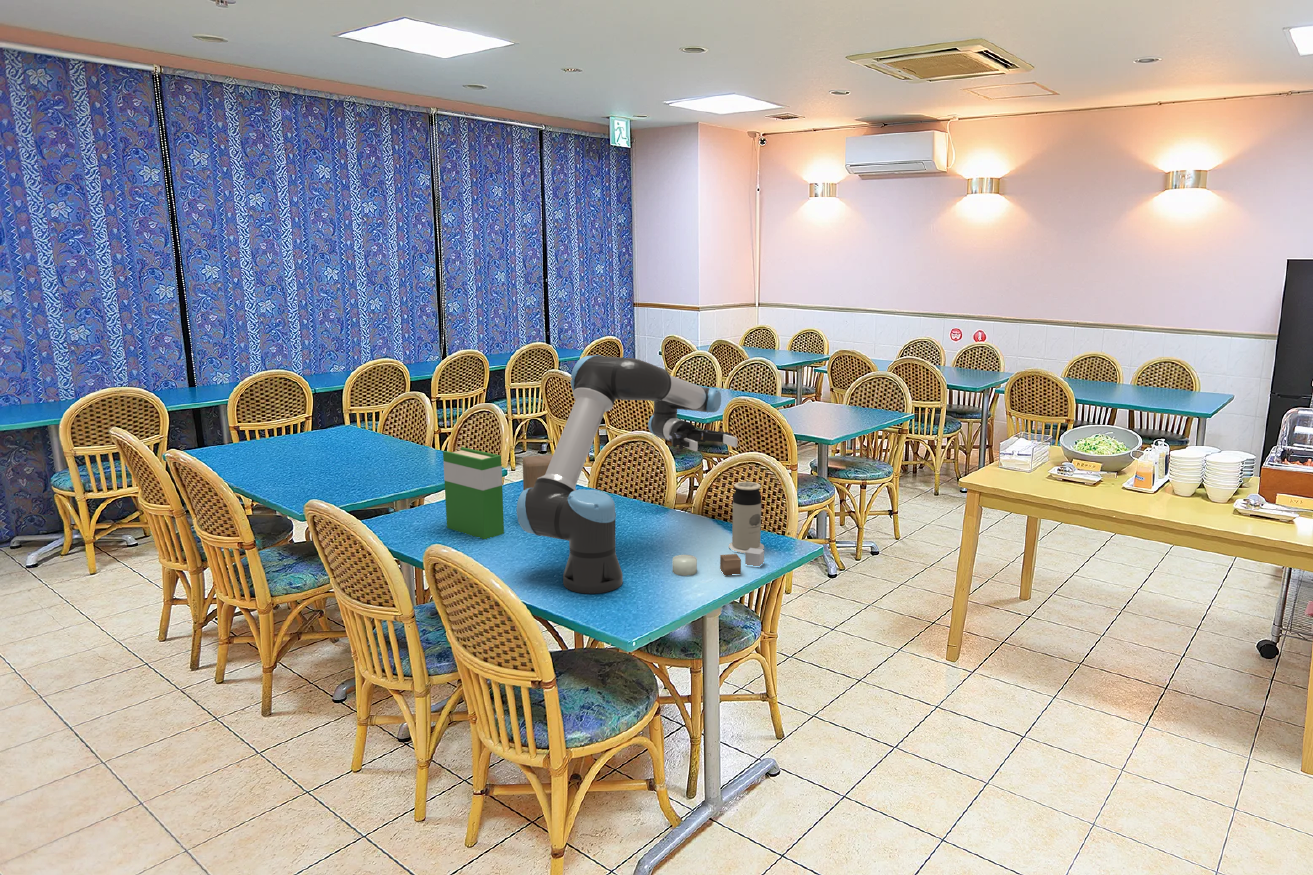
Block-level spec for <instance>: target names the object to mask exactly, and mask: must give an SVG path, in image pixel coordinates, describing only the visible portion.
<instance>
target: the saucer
mask: <svg viewBox="0 0 1313 875" xmlns="http://www.w3.org/2000/svg"><path fill="white" fill-rule="evenodd" d="M729 548H731V549H732V550H734V551H737V552H741V553H745V552H746V551H747V550H742V549H738V548H736V547H734V546H733V545H732V542H730V543H729V544H728V549H729ZM756 549H762V550H763V549H764V550H765V545H764V544H763V543H761V542H760V547H758V548H756ZM741 553H740V554H741Z"/></svg>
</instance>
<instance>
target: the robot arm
mask: <svg viewBox="0 0 1313 875" xmlns="http://www.w3.org/2000/svg"><path fill="white" fill-rule="evenodd" d="M570 378H571V380H570V387H571V389H572V396H573V399H574V400H575V401H574V404H573V405H572V408H571V411H570V413H569V416H568V419H567V420H566V423H565V425H564V428H563V430H562V433H561V435H560V437H559V440H558V442H557V444H556V447H555V449H554V452H553V454H552V456H553V457H552V459H551V461H550V464H549V466H548V469H547V471H546V474H545V475H544V476H542V477H539V478H538V479H537V480H536V482H535V485H534V487H533V488H527V489H525V490H522V491H521V493H520V495H519V496H518V500H517V503H516V517H517V522H518V524H519V526H520V527H521V529H522V530H523V531H524V532H526V533H528V534H533V535H534V536H537V537H547V538H552V539H557V540H558V539H559V540H563V541H568V542H569V556H568V558H567V562H566V565H565V568H564V571H563V574H562V577H563V578H562V579H563V580H562V581H563V582H562V584H563V586H564V587H565V588H566V589H567V590H569V591H571V592H573V593H574V592H575V593H579V594H594V595H595V594H604V593H609V592H612V591H614V590H617V589H618V588H620V587H621V586H622V585H623V579H624V578H623V576H624V575H623V571H622V568H621V565H620V562H619V560H618V557H617V554H616V552H617V551H616V518H617V512H616V506H615V505H616V504H615V501H614V499H613V498H612V496H611V495H609V494H608V493H605V492H603V491H601V490H595V489H585V488H584V489H576V485H577V483H578V481H579V479H580V476H581V473H582V471H583V469H584V466H585V463H586V461H587V459H588V455H589V453H590V450H591V448H592V445H593V443H594V441H595V437H596V435H597V433H598V430H599V427H600V426H601V422H602V419H603V417H604V415H605V413H606V412H610V411H611V410H613V407H614V405H615V402H616V401H617V400H619V401H650V402H653V414H652V415H651V416H650V418H649V420H648V421H647V422H648V423H647V427H648V430H649V432H650V433H651V434H652V435H653V436H655V437H657V438H660V439H663V440H665V441H669V442H671V446H672V448H677V446H678V449H679V450H683V449H684V448H685V449H688V450H691V451H693V452H698V449H699V448H698V444H699V443H705V442H716V443H717V442H718V443H722V444H724V445H727V446H730V447H733V448H738V437H735V436H733V435H732V433H731V432H728V431H719V430H711V429H707V428H706V429H704V430H703V429H698V428H696V427H695V425H694V424H693V423H691V422H690V421H686V420H683V419H679V418H678V410H685V411H692V412H693V411H694V412H701V413H702V412H703V413H717V412H718V411H719V409H720V408H721V404H722V393H721V392H720V390H719V389H718V388H713V387H704V386H700V385H697V384H696V383H693V382H689V381H686V380H684V379H682V378H678V377H676V376H674V375H671V374H670V373H669V372H668V371H667V370H666V369H664V368H662V367H659V366H657V365H655V364H652V363H650V362H646V361H644V360H641V359H638V358H633V357H621V356H620V357H617V356H604V355H599V354H595V355H586V356H583V357H581V358H579V359H578V361H577V362H576V363H575V365H574V366H573V368H572V371H571V374H570ZM698 442H699V443H698Z"/></svg>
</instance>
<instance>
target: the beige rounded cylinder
mask: <svg viewBox="0 0 1313 875" xmlns="http://www.w3.org/2000/svg"><path fill="white" fill-rule="evenodd" d="M697 572H698V558H697V557H696V556H694V555H691V554H679V555H675V556H673V557H672V573H673V574H674V575H676V576H681V577H682V576H684V577H686V576H687V575H690V576H694V575H695V574H697ZM687 577H688V576H687Z"/></svg>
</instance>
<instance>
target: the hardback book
mask: <svg viewBox="0 0 1313 875" xmlns="http://www.w3.org/2000/svg"><path fill="white" fill-rule="evenodd" d="M459 448H460V450H456V451H452V452H451V451H447V450H444V451H442V455H443V456H442V457H443V458H442V460H443V478H444V497H445V498H444V500H445V514H446V528H447V529H449V530H453V531H455V532H459V533H462V532H463V533H462V534H465V533H466V535H467V536H468V535H469V536H471V535H472V536H471V537H474V536H475V537H474V538H477V537H480V538H479V539H481V538H482V539H481V540H484V539H486V540H488V539H487V538H489V539H491V538H490V537H492V538H494V537H497V536H500V535H501V536H502V535H504V534H505V521H504V520H505V519H504V494H503V468H502V455H500V454H495V453H491V452H488V451H487V452H486V451H482V450H477V449H472V448H468V447H463V446H461V447H459Z"/></svg>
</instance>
